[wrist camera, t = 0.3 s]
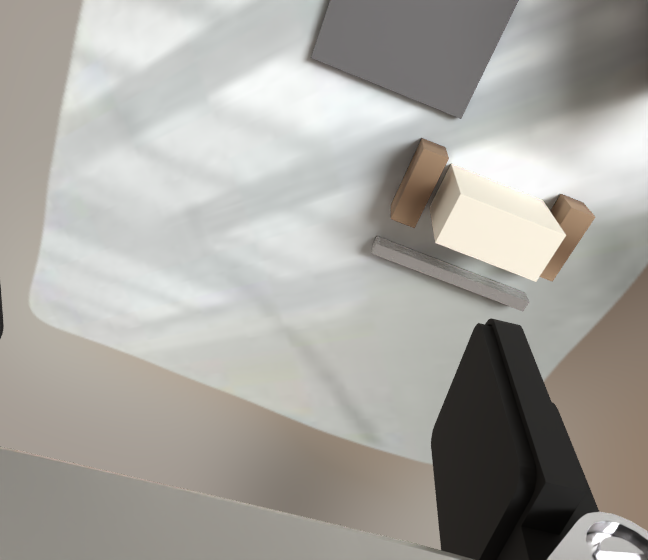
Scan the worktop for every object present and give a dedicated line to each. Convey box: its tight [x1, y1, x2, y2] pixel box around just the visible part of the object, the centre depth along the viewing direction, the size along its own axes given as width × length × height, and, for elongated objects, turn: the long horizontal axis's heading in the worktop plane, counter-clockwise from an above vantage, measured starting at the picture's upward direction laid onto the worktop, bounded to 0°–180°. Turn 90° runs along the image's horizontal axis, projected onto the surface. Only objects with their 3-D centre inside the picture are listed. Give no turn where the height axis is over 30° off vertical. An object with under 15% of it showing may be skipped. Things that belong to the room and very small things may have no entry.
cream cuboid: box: [429, 164, 566, 282], centre depth 43 cm, size 4×8×7 cm, turn 70°
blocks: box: [372, 138, 595, 311], centre depth 45 cm, size 10×14×3 cm
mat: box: [311, 0, 519, 119], centre depth 40 cm, size 9×12×1 cm
